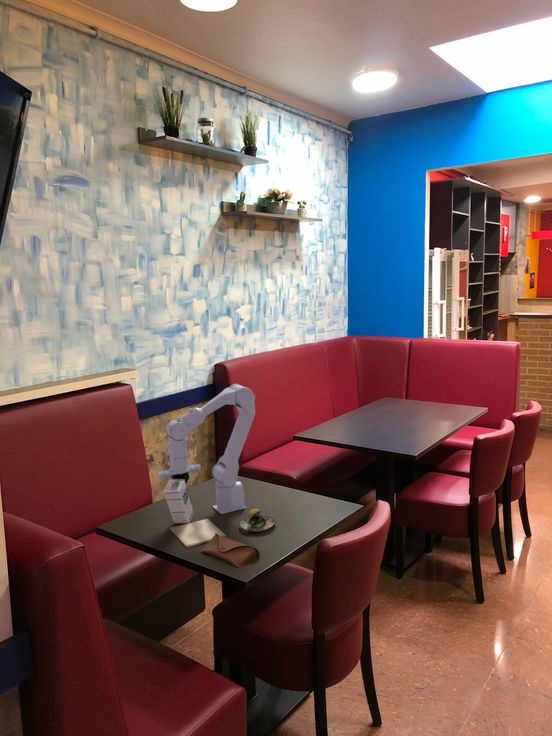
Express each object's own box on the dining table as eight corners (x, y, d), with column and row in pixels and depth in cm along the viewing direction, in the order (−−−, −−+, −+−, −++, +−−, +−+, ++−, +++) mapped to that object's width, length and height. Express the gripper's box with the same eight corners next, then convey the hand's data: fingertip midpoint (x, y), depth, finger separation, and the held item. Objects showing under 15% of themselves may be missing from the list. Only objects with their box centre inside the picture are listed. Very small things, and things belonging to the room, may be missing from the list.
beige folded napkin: (207, 520, 197) (207, 518, 196) (226, 537, 182) (226, 535, 182) (170, 529, 191) (170, 527, 190) (187, 547, 177) (186, 546, 176)
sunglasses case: (196, 551, 174) (203, 529, 175) (212, 555, 179) (218, 533, 180) (240, 569, 162) (247, 545, 164) (255, 572, 167) (262, 548, 169)
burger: (245, 538, 182) (244, 515, 180) (234, 524, 192) (232, 503, 191) (281, 530, 186) (280, 508, 185) (268, 517, 197) (267, 496, 196)
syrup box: (190, 523, 194) (180, 490, 187) (173, 523, 195) (163, 490, 188) (194, 511, 199) (185, 478, 192) (178, 511, 200) (168, 479, 193)
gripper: (194, 449, 202) (197, 487, 204) (153, 457, 196) (157, 496, 198) (202, 454, 196) (204, 493, 198) (160, 462, 190) (163, 502, 192)
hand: (181, 495), depth 198 cm, fingers closed
